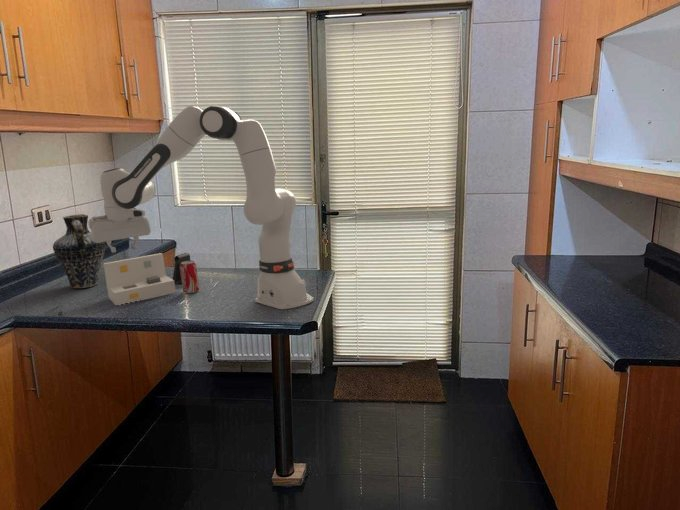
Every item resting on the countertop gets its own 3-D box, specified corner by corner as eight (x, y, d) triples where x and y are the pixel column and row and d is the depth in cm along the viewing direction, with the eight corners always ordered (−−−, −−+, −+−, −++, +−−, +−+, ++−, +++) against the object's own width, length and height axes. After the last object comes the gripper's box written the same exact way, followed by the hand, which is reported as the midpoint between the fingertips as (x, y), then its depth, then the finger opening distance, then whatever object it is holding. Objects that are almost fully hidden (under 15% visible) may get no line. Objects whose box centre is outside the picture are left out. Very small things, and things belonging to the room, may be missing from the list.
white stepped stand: (176, 292, 200) (171, 258, 196) (116, 306, 187) (110, 269, 184) (165, 286, 209) (161, 252, 206) (108, 298, 197) (103, 263, 194)
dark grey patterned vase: (55, 286, 218) (42, 216, 211) (103, 276, 230) (92, 210, 223) (67, 296, 203) (53, 221, 195) (118, 285, 215) (106, 214, 207)
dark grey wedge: (172, 283, 213) (168, 255, 210) (182, 279, 218) (178, 252, 215) (188, 285, 209) (185, 256, 206) (198, 281, 214) (195, 253, 211)
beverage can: (197, 294, 197) (193, 263, 194) (180, 294, 197) (176, 264, 194) (201, 289, 203) (198, 259, 200) (186, 289, 203) (182, 260, 200)
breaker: (161, 287, 199) (159, 277, 198) (150, 289, 197) (149, 279, 196) (158, 285, 202) (156, 275, 201) (147, 287, 200) (146, 277, 199)
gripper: (89, 218, 178) (95, 257, 182) (149, 210, 190) (154, 247, 193) (85, 216, 183) (92, 254, 187) (144, 209, 195) (149, 244, 198)
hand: (124, 250), depth 190 cm, fingers open, 6 cm apart
